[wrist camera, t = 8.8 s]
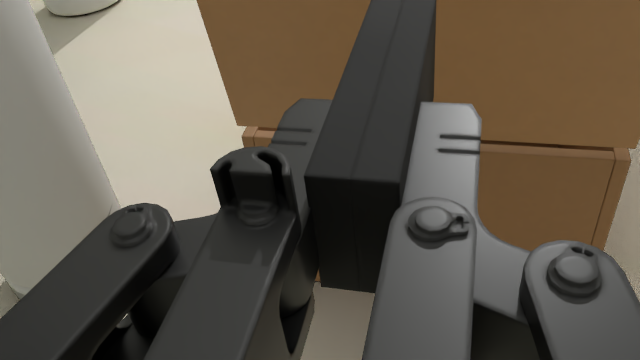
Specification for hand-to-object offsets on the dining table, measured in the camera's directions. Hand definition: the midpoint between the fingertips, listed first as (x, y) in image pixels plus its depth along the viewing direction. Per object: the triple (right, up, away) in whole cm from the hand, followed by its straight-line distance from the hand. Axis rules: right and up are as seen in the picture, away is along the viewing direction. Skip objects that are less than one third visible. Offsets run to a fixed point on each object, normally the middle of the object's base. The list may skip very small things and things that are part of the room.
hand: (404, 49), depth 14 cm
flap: (+1, +1, +3) cm, 4 cm away
